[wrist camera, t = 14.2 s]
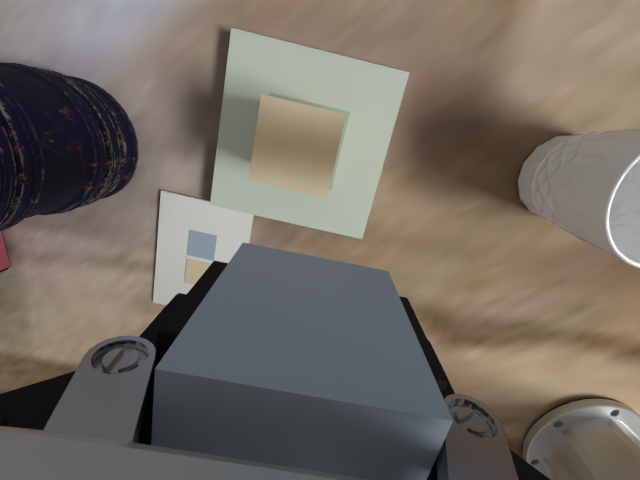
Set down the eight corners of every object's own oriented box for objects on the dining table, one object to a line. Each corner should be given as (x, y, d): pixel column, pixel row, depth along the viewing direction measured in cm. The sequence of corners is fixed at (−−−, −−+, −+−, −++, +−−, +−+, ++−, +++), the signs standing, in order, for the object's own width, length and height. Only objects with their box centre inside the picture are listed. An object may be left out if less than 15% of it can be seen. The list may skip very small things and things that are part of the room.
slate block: (353, 385, 13) (375, 591, 7) (226, 362, 13) (145, 558, 7) (388, 271, 11) (453, 420, 6) (243, 242, 11) (154, 368, 5)
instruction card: (236, 318, 32) (235, 320, 32) (154, 301, 32) (152, 303, 31) (254, 210, 28) (253, 211, 28) (162, 190, 28) (160, 190, 28)
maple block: (327, 182, 26) (327, 197, 21) (265, 168, 26) (248, 180, 20) (342, 117, 25) (346, 114, 19) (276, 102, 24) (261, 93, 19)
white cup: (491, 204, 28) (575, 243, 18) (543, 111, 25) (672, 99, 16) (572, 236, 29) (693, 289, 19) (630, 148, 26) (802, 159, 17)
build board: (360, 234, 29) (362, 239, 28) (214, 201, 28) (209, 205, 27) (405, 75, 25) (409, 72, 24) (235, 32, 24) (230, 27, 23)
